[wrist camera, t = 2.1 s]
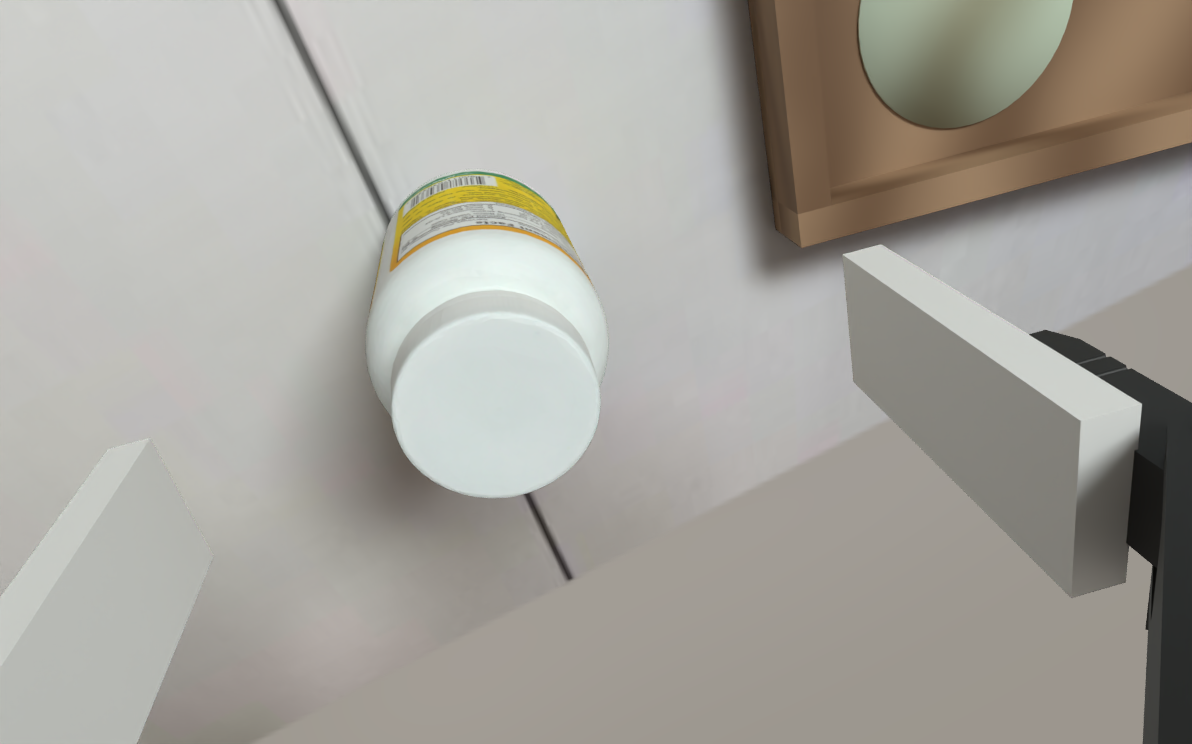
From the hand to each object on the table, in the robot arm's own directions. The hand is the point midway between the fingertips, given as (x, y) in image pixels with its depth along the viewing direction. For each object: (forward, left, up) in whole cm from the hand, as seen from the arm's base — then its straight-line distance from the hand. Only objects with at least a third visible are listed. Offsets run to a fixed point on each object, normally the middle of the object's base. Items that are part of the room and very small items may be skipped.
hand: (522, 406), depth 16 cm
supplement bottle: (0, 0, -10) cm, 10 cm away
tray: (+17, +4, -10) cm, 20 cm away
